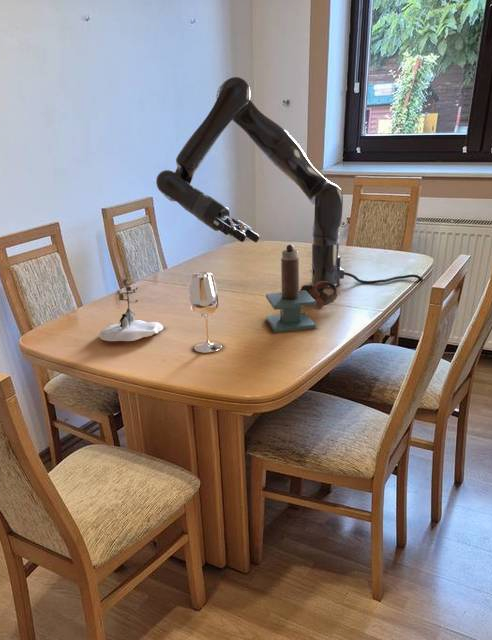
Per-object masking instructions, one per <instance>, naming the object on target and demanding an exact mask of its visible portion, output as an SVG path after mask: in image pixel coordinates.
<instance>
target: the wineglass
mask: <svg viewBox="0 0 492 640" xmlns="http://www.w3.org/2000/svg"><path fill="white" fill-rule="evenodd" d="M189 283H190V285H189V292H188V293H189V295H188V301H189V302H188V303H189V307H190V309H191V311H192V313H193V314H194V315H195V316H197V317H199V318H201V319H202V320H203V324H204V333H205V342H200V343H198V344H196V345H195V346H194V349H193V350H194V351H196V352H198V353H203V354H209V353H215V352H218V351H220V350H221V349H222V344H221V343H219V342H216V341H210V339H209V328H208V326H209V325H208V320H209V318H211V317H212V316H213V315H214V314H215V313H216V312H217V311H218V309H219V305H220V298H219V292H218V289H217V284H216V280H215V278H214V273H212V272H210V271H199V272H195V273H192V274H191V276H190V282H189Z"/></svg>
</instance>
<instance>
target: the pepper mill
mask: <svg viewBox="0 0 492 640" xmlns="http://www.w3.org/2000/svg"><path fill="white" fill-rule="evenodd" d="M294 248H295V247H294V245H292V244H287V245H286V247H285V249H284V250H282V251H281V259H280V269H281V270H280V278H281V279H280V281H281V283H280V284H281V285H280V287H281V292H282V299H284V300H295V299H298V298H299V291H300V258H299V250H298V249H294Z"/></svg>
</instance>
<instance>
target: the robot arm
mask: <svg viewBox="0 0 492 640" xmlns="http://www.w3.org/2000/svg"><path fill="white" fill-rule="evenodd" d="M231 122H234V123H235V124H236V126H238V127H240V128H241V129H242V130H243V132H245V134H246V135H247V136H248V137H249V138H250V140H252V142H253V143H254V144H255V145H256V147H258V149H259V150H260V151H261V152H262V153H263V154H264V155H265V157H266V158H267V159H268V160H269V161H270V162H271V163H272V164H273V165H274V166H275V167H276V168H277V169H278V170H279V171H280V172H281V173H283V174H284V175H285V176H286V177H287V178H289V180H291V181H292V182H294V183H295V184H296V185H297V186H298V188H299V189H300V190H301V191H302V192H303V193H304V195H305V196H306V198H307V199H308V200H309V202H310V203H311V205H312V206H313V207H314V213H313V214H314V218H313V219H314V220H313V225H312V226H311V267H310V269H309V270H310V271H309V272H310V273H311V277H310V278H311V279H310V280H311V282H310V286H312V287H313V286H314V285H315V284H316V283H317V282H319V281H328V282H331V283H333V284H334V285H335V286H336V287H338V286H340V285H341V283H340V282H341V280H343V279H344V278H345V276H348V277H350V278H353V279H354V280H355V281H356V282H358V283H360V284H380V283H387V282H390V281H395V280H401V279H402V280H403V279H408V278H416V279H417V280H419V281H424V278H423V277H421V276H420V275H418V274H406V275H398V276H393V277H389V278H385V279H376V280H363V279H359V278H358V277H357V275H354V274H353V273H349V272H346V271H345V269H344V268H343V267H341V257H340V232H341V231H340V230H341V226H342V221H343V209H344V207H343V206H344V196H343V192H342V189H341V188H340V187H339V185H337V184H335V183H333V182H331V181H330V180H328V179H327V178H325V177H324V175H322V174H321V173H320V172H319V171H318V170H317V169H316V168H315V167H314V166H313V164H312V163H311V162H310V160H309V159H308V157H307V155H306V153H305V152H304V150H303V149H302V148H301V146H300V144H299V143H297V141H296V140H295V139H294V138H293V137H292V135H290V134H289V132H288V131H287V130H286V129H285V128H283V127H282V126H281V125H280V124H278V123H277V122H275V121H274V120H272V119H271V118H269V117H268V116H266V115H265V114H264V113H263V112H262V111H260V110H259V108H258V107H256V105H255V104H254V103H253V101H252V100H251V89H250V85H249V84H248V82H247V81H246V80H245V79H244V78H242V77H239V76H232V77H229V78H227V79H226V80H224V81H223V82H222V83H221V84H220V85H219V87H218V88H217V91H216V96H215V103H214V104H213V106H212V108H211V110H210V111H209V112H208V114H207V116H206V117H205V118H204V119H203V121H202V122H201V124H200V125H199V126H198V127H197V129H196V130H195V131H194V132H193V133H192V134H191V136H190V137H189V138H188V140H187V141H186V143H185V144H184V146H183V147H182V148H181V150H180V151H179V152H178V154H177V156H176V158H175V164H176V169H175V171H173V170H170V169H165V170H162V171H161V172H159V173H158V174H157V176H156V180H155V183H156V188H157V189H158V191H159V192H160V193H161V194H162V195H163V196H164V197H165V198H166V199H167V200H168V201H170V202H174V203H175V202H176V203H177V204H178V205H180V207H182V208H183V209H184V210H185V211H186V212H188V213H189V214H191V215H192V216H194V217H195V218H196V219H197V220H198V221H200V222H202V223H203V224H204V225H205V226H207V227H209V228H210V229H212V230H214V231H215V232H219V231H220V232H221V233H223V234H224V235H225V236H229V237H233V238H235V239H236V240H237V241H239V242H240V243H244V242H245V241H246V238H248V239H249V240H250V241H252V242H254V243H258V242H259V240H260V237H261V235H259V234H258V233H256V232H255V231H253V228H252V227H251V226H249V225H248V224H246V223H245V222H244V221H242V220H240V219H239V218H235V217H233V216H231V217H230V209H229V207H227V206H226V205H224V204H223V203H221V202H220V201H218V200H217V199H215V198H213V197H212V196H210V195H208V194H206V193H204V192H203V191H201V190H200V189H198V188H196V187H194V186H193V185H192V181H193V178H194V175H195V173H196V172H197V171H198V169H199V168H200V167H201V164H203V162H204V160H205V159H206V157H207V156H208V154H209V153H210V151H211V150H212V148H213V146H214V145H215V143H216V142H217V141H218V140H219V138H220V136H221V135H222V134H223V132H224V131H225V130H226V128H227V127H228V126H229V125H230V124H231ZM328 288H331V287H330V286H328V287H326V288H325V289H328Z"/></svg>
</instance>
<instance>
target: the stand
mask: <svg viewBox="0 0 492 640" xmlns="http://www.w3.org/2000/svg"><path fill="white" fill-rule="evenodd" d="M265 298H266V300H267V301H268V303H269V304H270V306H271V307H272V308H273V310H274V311H277V310H279V314H275V315H266V321H267V324H268V325H269V326H270V328H271V329H272V331H273V332H274V333H275V334H277V333H279V334H280V333H287V332H288V333H289V332H297V331H306V330H316V323H315V322H314V321H313V320H312V319H311V317H310V316H309V315H308V314H307V312H306V311H304V312H301V311H302V308H304V307H314V306H315V307H316V304H317V300H316V299H315V300H314V299H313V298H312V297H311V296H310V295H309V294H308V292H307V291H306V290H301V291H300V290H299V298H298V299H295V300H284V299H282V291H280V292H272V293H265Z"/></svg>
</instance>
